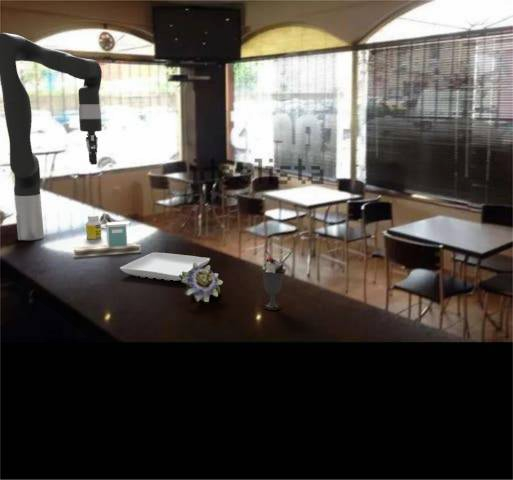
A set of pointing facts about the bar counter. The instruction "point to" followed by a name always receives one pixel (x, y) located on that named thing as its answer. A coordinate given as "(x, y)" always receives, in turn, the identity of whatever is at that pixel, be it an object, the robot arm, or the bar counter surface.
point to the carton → (116, 234)
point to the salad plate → (163, 265)
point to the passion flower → (201, 282)
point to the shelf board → (105, 250)
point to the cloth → (108, 220)
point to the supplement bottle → (93, 227)
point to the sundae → (272, 278)
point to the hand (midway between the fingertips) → (93, 163)
